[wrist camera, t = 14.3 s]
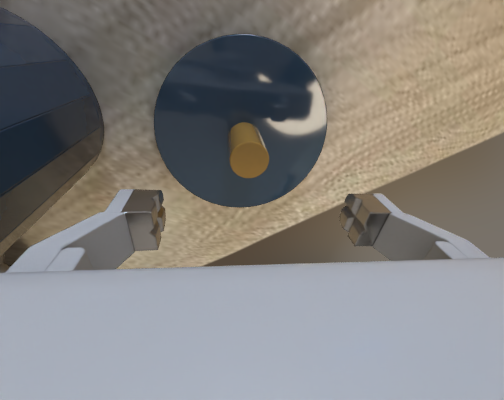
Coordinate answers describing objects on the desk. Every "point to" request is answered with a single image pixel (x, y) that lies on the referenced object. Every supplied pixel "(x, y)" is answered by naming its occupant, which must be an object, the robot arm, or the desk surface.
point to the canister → (40, 126)
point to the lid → (240, 120)
